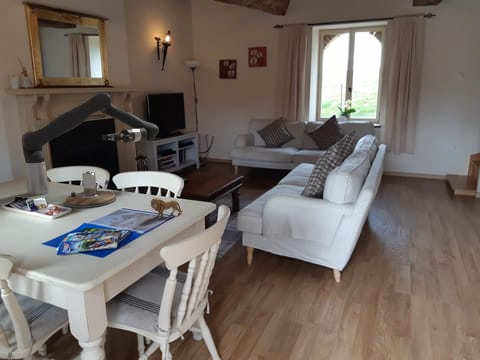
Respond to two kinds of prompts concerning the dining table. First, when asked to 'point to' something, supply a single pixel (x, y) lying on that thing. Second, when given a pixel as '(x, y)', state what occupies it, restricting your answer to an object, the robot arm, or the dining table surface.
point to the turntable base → (91, 205)
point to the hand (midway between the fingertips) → (108, 138)
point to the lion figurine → (165, 206)
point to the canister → (89, 185)
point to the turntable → (81, 201)
